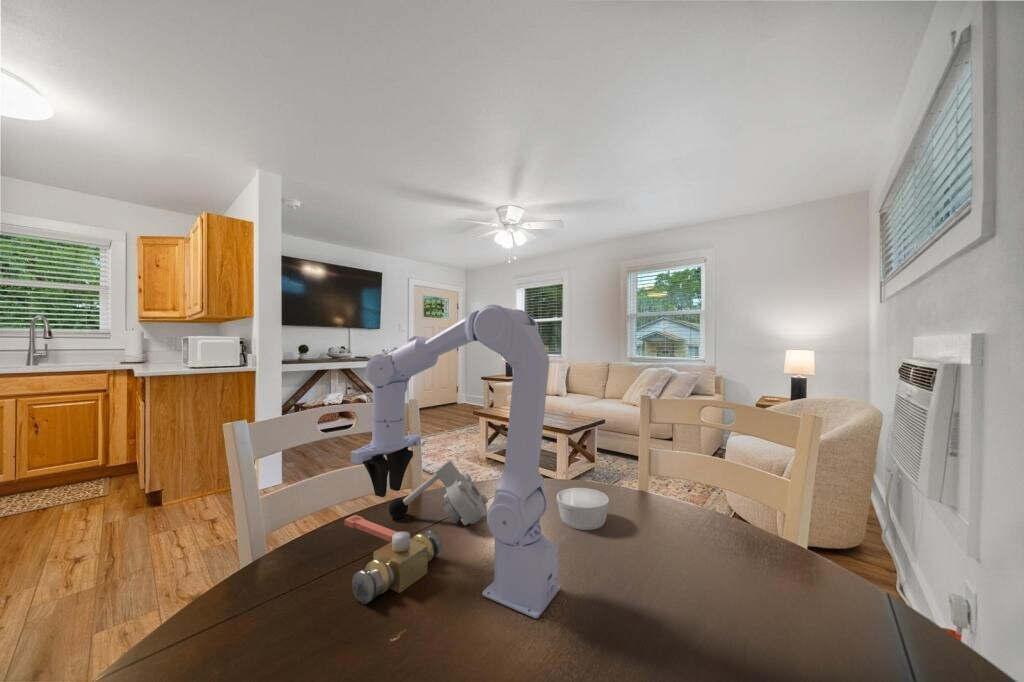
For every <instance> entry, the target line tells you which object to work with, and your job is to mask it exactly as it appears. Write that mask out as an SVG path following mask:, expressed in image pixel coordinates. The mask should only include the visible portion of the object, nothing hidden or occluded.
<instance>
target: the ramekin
mask: <svg viewBox="0 0 1024 682" xmlns="http://www.w3.org/2000/svg"><path fill="white" fill-rule="evenodd" d="M556 502H557V505H558V511H559V512H558V513H559V517H560V520H561V521H562V522H563V524H564V525H566V526H567V527H570V528H572V529H574V530H580V531H594V529H595V530H598V529H600V528H601V527H603V526H604V525H605V523H606V520H607V515H608V510H609V509H608V508H609V507H610V498H609V496H608V495H607V494H605V493H604V492H602V491H599V490H597V489H592V488H587V487H570V488H565V489H562V490H560V491H559V492H557V494H556Z"/></svg>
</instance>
